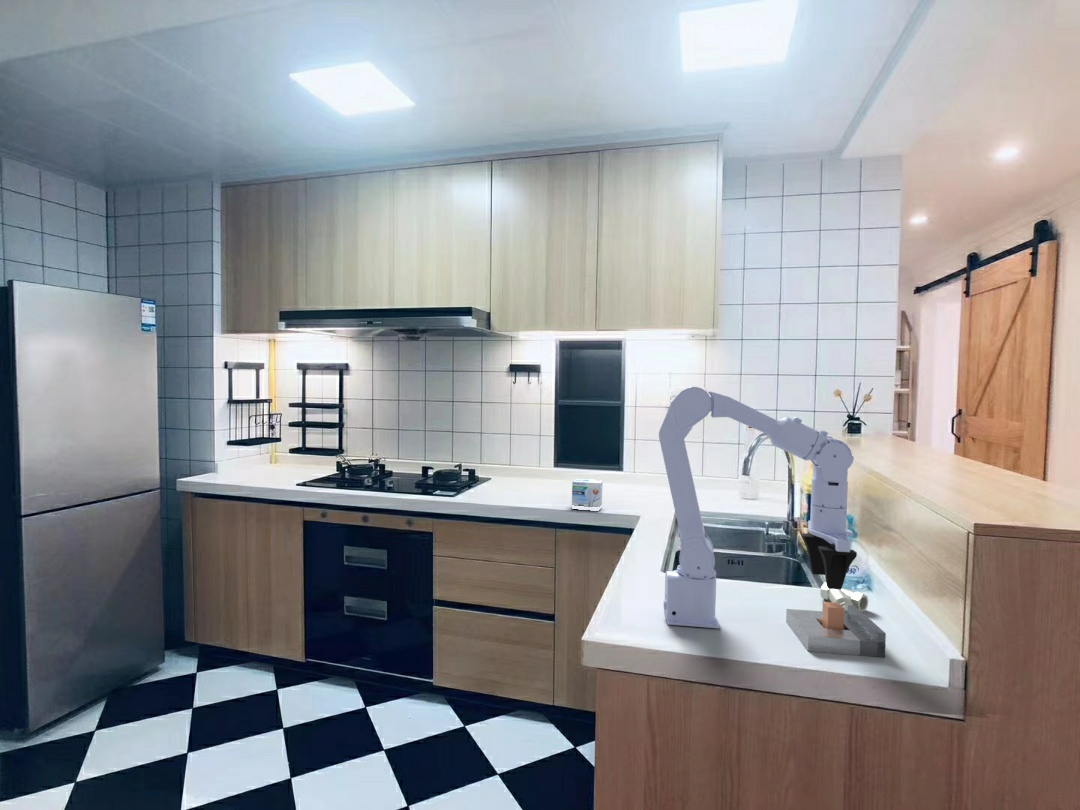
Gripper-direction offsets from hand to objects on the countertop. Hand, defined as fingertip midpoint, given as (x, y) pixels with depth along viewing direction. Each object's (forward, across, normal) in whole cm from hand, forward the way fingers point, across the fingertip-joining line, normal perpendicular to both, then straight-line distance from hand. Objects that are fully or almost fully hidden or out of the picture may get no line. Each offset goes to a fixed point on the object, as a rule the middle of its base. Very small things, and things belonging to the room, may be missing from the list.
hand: (826, 581), depth 98 cm
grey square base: (+10, -1, -1) cm, 10 cm away
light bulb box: (+10, +99, +49) cm, 110 cm away
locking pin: (+10, -1, -1) cm, 10 cm away
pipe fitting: (+10, +15, -8) cm, 20 cm away
